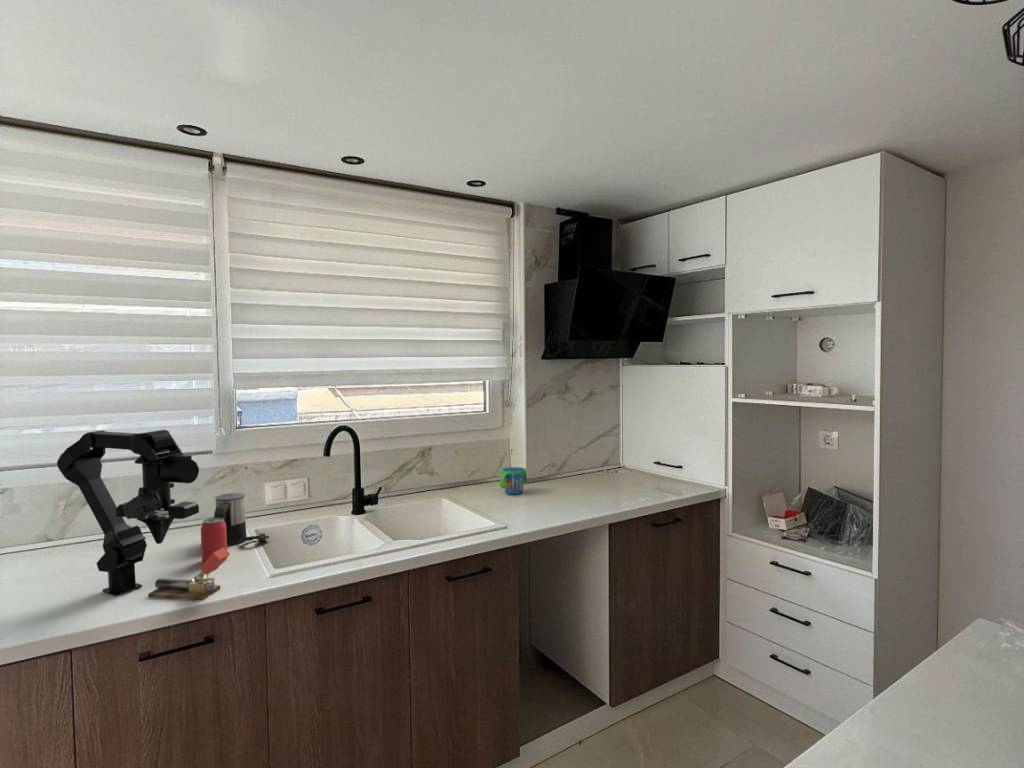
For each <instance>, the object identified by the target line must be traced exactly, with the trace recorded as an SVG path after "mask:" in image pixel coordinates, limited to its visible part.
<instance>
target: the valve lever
mask: <svg viewBox="0 0 1024 768" xmlns="http://www.w3.org/2000/svg"><path fill="white" fill-rule="evenodd" d="M230 555H231V553H230V552H229V551H228V549H227V550H226V549H225V548H224V547H223V548H221V549H219V550H217V551H215V552H214V553H212V555H211V556H210V557H209V558H208V559H207V560H206V561H205V563H203V564H202V565H200V567H199V569H200V570H201V571H200V573H199V574H197V575H195V576H194V577H193V579H194V581H195V582H199V581H201V580H203V579H205V578H209V574H211V573H212V572H214V571H216V570H217V569H218V568H219V567H221V565H222V564H223V563H224V562H225V559H226V558H228V557H229V556H230ZM226 560H227V559H226Z"/></svg>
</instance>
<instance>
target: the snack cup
mask: <svg viewBox="0 0 1024 768" xmlns="http://www.w3.org/2000/svg"><path fill="white" fill-rule="evenodd" d="M500 473H501V475H500V480H499V487H500V488H501V489H504V492H505V494H507V495H513V496H514V495H520V494H522V493H523V492H524V487H525V483H527V482H528V476H527V469H526V468H524V467H518V466H517V467H516V466H515V467H514V466H513V467H512V466H511V467H504V468H502V469H501V470H500Z"/></svg>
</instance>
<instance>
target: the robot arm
mask: <svg viewBox="0 0 1024 768" xmlns="http://www.w3.org/2000/svg"><path fill="white" fill-rule="evenodd" d="M106 449H111V450H113V449H115V450H128V451H131V452H132V453H133V454H135V455H137V456H138V455H139V457H138V458H136V459H135V461H134V464H135V465H136V464H137V465H141V470H142V486H140V487H138V490H137V493H138V494H137V496H135V497H133V498H131V499H130V500H129V501H127V502H124V503H120V504H118V505H117V504H116V503H115V501H114V499H113V497H112V495H111V493H110V491H109V490H108V487H107V485H106V484H105V483H104V482H105V481H104V480H103V478H102V476H101V475H102V468H103V464H102V462H101V460H102V459H103V457H104V456H105V454H106ZM192 457H193V456H192V455H191V454H186V455H184V452H182V450H181V448H180V446H179V445H178V444H177V441H175V439H174V438H173V436H172V435H171V432H170V431H168V430H166V429H159V430H152V431H147V432H138V433H137V432H118V431H106V430H95V431H90V432H89V431H88V432H85V433H84V434H82V436H81V437H80V438H79V440H77V441H76V442H74V443H73V444H71V445H70V446H69V447H67V448H66V449H65V450H64V451H63V452H62V453H61V454H60V455H59V457H58V459H57V462H56V465H57V469H58V470H59V471H60V472H61V474H62V476H63V477H64V478H65V479H66V480H67V481H69V482H71V483H72V484H74V485H76V486H77V487H78V489H79V490H80V492H81V493H82V496H83V497H84V499H85V501H86V503H87V505H88V506H89V508H90V510H91V512H92V514H93V516H94V518H95V519H96V521H97V523H98V525H99V527H100V529H101V531H102V532H103V534H104V535H103V542H102V549H103V551H104V553H103V554H102V556H101V557H100V558H99V559H98V561H96V567H97V569H98V571H99V572H102V573H103V572H104V573H107V579H108V581H107V583H108V587H105V588H102V593H106V594H109V595H111V596H115V597H116V596H120V595H123V594H126V593H129V592H131V591H134V590H138V589H140V588H142V587H143V585H142V584H140V583H138V582H136V565H135V564H137V563H139V562H142V561H143V560H144V557H145V554H146V553H145V552H146V549H147V546H148V545H147V541H146V539H147V537H146V536H145V535H144V534H143V532H142V530H141V527H140V526H139V525H135V526H131V525H129V524H127V523H126V520H125V519H124V518H126V519H127V520H131V519H134V520H135V519H137V521H138V522H139V521H140V522H142V523H144V524H145V525H146V527H148V529H149V531H150V534H151V536H152V538H153V540H154V541H155V544H157V545H160V544H163V542H164V540H165V537H166V536H167V533H168V531H169V529H170V526H171V524H172V523H173V522H174V519H175V520H176V519H177V520H183V519H187V518H189V517H191V516H194V515H196V514H199V513H200V505H199V504H198V503H197V502H195V501H182V502H179V503H176V502H175V501H176V499H175V498H172V497H171V489H173V488H174V487H175V484H191V483H194V482H195V481H196V480H197V478H198V476H199V472H200V467H199V466H198V463H197V461H195V460H193V459H192ZM175 503H176V504H175ZM172 504H173V505H172Z"/></svg>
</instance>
